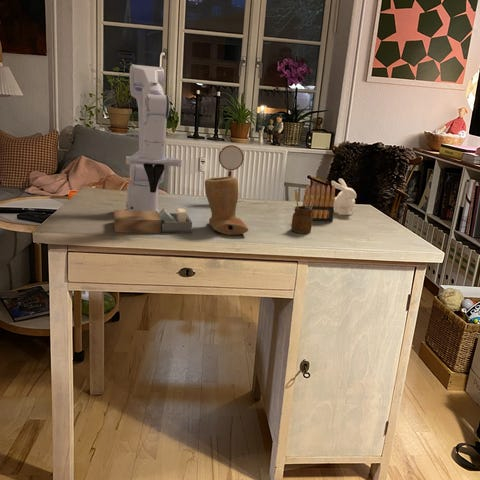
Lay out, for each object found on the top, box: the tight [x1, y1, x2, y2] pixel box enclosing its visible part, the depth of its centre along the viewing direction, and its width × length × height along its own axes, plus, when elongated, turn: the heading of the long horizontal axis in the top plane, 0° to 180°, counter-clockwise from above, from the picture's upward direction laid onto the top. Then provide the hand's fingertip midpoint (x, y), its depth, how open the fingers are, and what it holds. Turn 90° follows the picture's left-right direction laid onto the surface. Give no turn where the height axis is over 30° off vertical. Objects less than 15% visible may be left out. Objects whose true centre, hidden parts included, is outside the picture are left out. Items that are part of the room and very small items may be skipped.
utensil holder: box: [290, 188, 315, 234], centre depth 148 cm, size 6×6×12 cm
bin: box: [161, 212, 193, 234], centre depth 140 cm, size 8×10×3 cm
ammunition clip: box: [301, 183, 336, 223], centre depth 161 cm, size 11×2×12 cm, turn 103°
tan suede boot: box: [204, 176, 249, 236], centre depth 142 cm, size 15×12×15 cm
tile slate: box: [159, 208, 176, 222], centre depth 139 cm, size 4×4×2 cm
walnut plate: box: [113, 209, 162, 234], centre depth 138 cm, size 12×10×4 cm
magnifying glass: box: [218, 144, 245, 177], centre depth 176 cm, size 9×2×20 cm, turn 96°
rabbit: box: [330, 178, 357, 216], centre depth 178 cm, size 12×9×12 cm
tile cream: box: [176, 207, 188, 222], centre depth 140 cm, size 4×4×2 cm
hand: (152, 191), depth 138 cm, fingers closed
